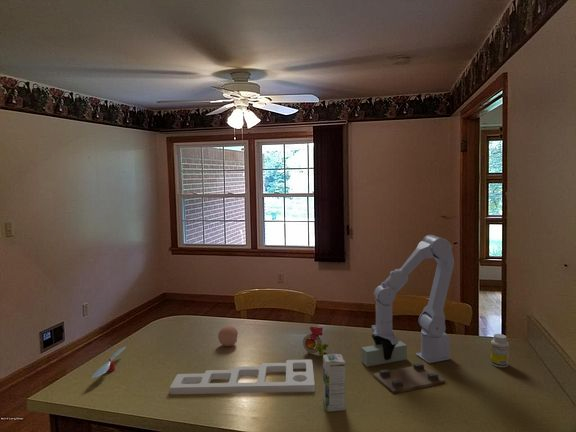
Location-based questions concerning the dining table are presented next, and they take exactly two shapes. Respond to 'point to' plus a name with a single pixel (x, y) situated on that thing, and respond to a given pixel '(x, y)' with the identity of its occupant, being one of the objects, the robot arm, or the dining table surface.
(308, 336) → the bird rattle
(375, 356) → the block
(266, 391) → the holder
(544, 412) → the dining table surface
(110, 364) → the propeller
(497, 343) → the supplement bottle
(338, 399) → the syrup box
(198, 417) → the dining table surface
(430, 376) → the cradle board
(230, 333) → the toy ball
